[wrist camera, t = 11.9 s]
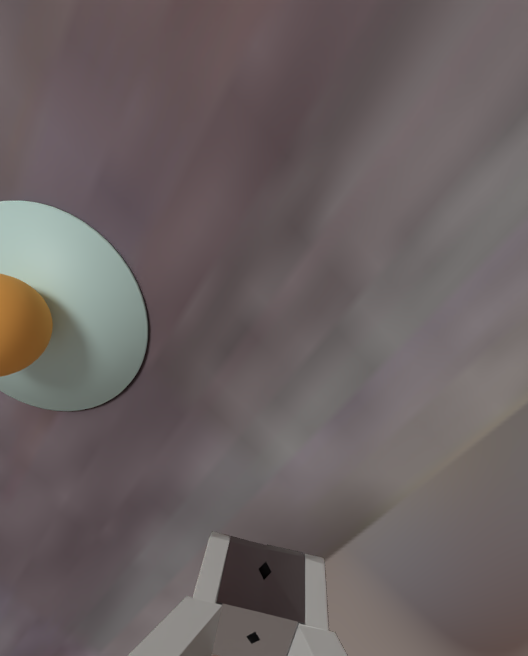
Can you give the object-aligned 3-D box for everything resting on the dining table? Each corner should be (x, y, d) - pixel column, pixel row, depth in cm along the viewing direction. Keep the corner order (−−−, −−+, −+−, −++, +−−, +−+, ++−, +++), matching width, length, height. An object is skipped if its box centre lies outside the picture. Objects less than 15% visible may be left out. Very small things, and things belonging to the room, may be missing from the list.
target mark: (156, 226, 19) (155, 226, 18) (141, 427, 23) (140, 428, 23) (-79, 178, 19) (-83, 178, 19) (-50, 387, 23) (-52, 388, 23)
